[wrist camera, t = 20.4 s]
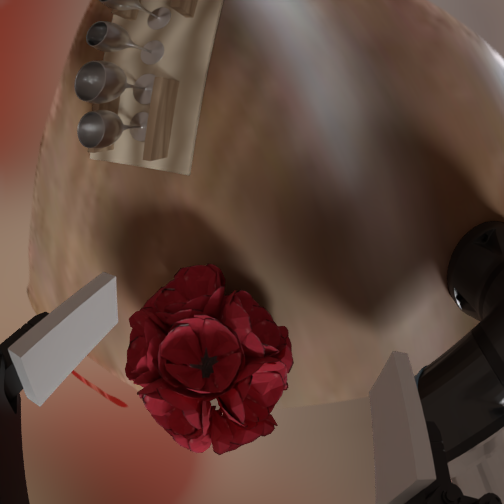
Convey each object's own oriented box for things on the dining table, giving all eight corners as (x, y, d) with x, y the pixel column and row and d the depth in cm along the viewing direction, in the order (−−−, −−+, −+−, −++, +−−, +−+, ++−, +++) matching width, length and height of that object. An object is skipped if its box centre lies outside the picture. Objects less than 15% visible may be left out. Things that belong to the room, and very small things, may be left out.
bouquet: (320, 334, 56) (262, 225, 35) (318, 462, 42) (240, 454, 21) (216, 344, 64) (121, 258, 43) (201, 454, 49) (71, 419, 28)
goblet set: (157, 143, 42) (100, 152, 30) (124, 141, 43) (64, 150, 31) (187, -30, 31) (145, -69, 19) (153, -25, 32) (106, -58, 20)
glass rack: (237, -50, 29) (227, -68, 24) (190, 174, 43) (173, 181, 38) (133, -40, 31) (115, -52, 26) (92, 158, 45) (69, 163, 40)
